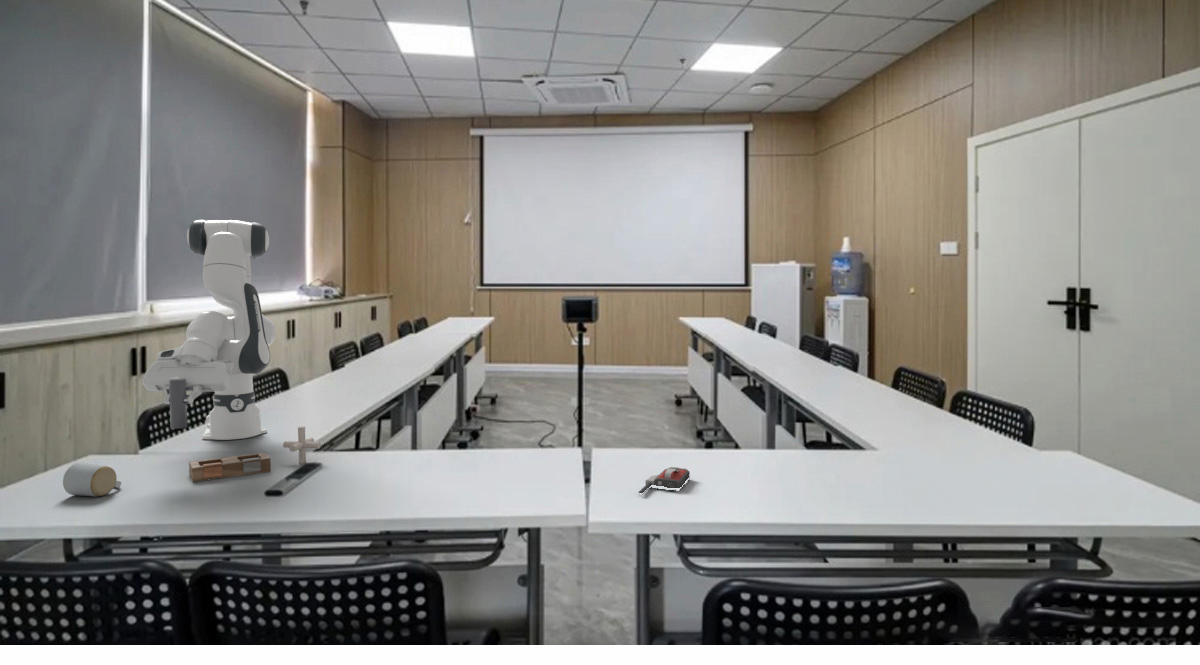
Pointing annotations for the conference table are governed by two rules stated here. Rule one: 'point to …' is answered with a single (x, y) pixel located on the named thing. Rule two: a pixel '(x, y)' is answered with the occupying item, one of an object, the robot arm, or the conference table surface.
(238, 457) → the socket strip
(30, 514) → the conference table surface
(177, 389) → the tall grey block
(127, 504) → the conference table surface
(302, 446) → the pipe connector
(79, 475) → the ceramic mug
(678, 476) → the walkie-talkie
